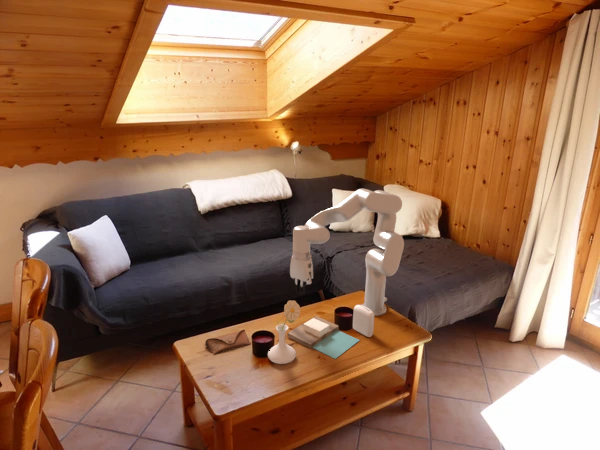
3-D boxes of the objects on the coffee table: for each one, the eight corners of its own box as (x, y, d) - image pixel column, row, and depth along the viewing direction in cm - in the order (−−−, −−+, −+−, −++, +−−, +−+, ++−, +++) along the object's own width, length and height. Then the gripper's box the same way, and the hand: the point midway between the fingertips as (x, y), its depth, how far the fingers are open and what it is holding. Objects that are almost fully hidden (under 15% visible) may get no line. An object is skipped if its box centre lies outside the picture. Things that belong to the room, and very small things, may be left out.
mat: (337, 330, 184) (337, 329, 184) (359, 340, 177) (359, 340, 177) (311, 347, 171) (312, 346, 171) (335, 359, 164) (335, 358, 164)
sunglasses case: (212, 356, 164) (208, 339, 165) (207, 355, 170) (204, 339, 171) (253, 343, 173) (249, 327, 174) (247, 343, 179) (243, 328, 180)
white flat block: (313, 323, 186) (313, 318, 185) (329, 331, 180) (329, 325, 179) (303, 329, 180) (303, 323, 180) (319, 337, 175) (319, 331, 174)
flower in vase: (272, 369, 157) (272, 311, 149) (264, 353, 167) (263, 297, 160) (304, 362, 161) (305, 305, 154) (293, 346, 172) (294, 292, 164)
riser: (316, 319, 193) (316, 315, 192) (338, 329, 185) (338, 325, 184) (287, 336, 178) (287, 332, 178) (310, 348, 170) (310, 344, 170)
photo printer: (350, 328, 186) (352, 304, 183) (357, 325, 189) (359, 301, 185) (368, 338, 179) (369, 313, 175) (374, 335, 181) (376, 310, 178)
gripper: (320, 256, 174) (319, 295, 180) (293, 248, 184) (293, 285, 189) (309, 261, 169) (308, 301, 174) (282, 252, 178) (282, 290, 184)
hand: (300, 292), depth 182 cm, fingers closed
